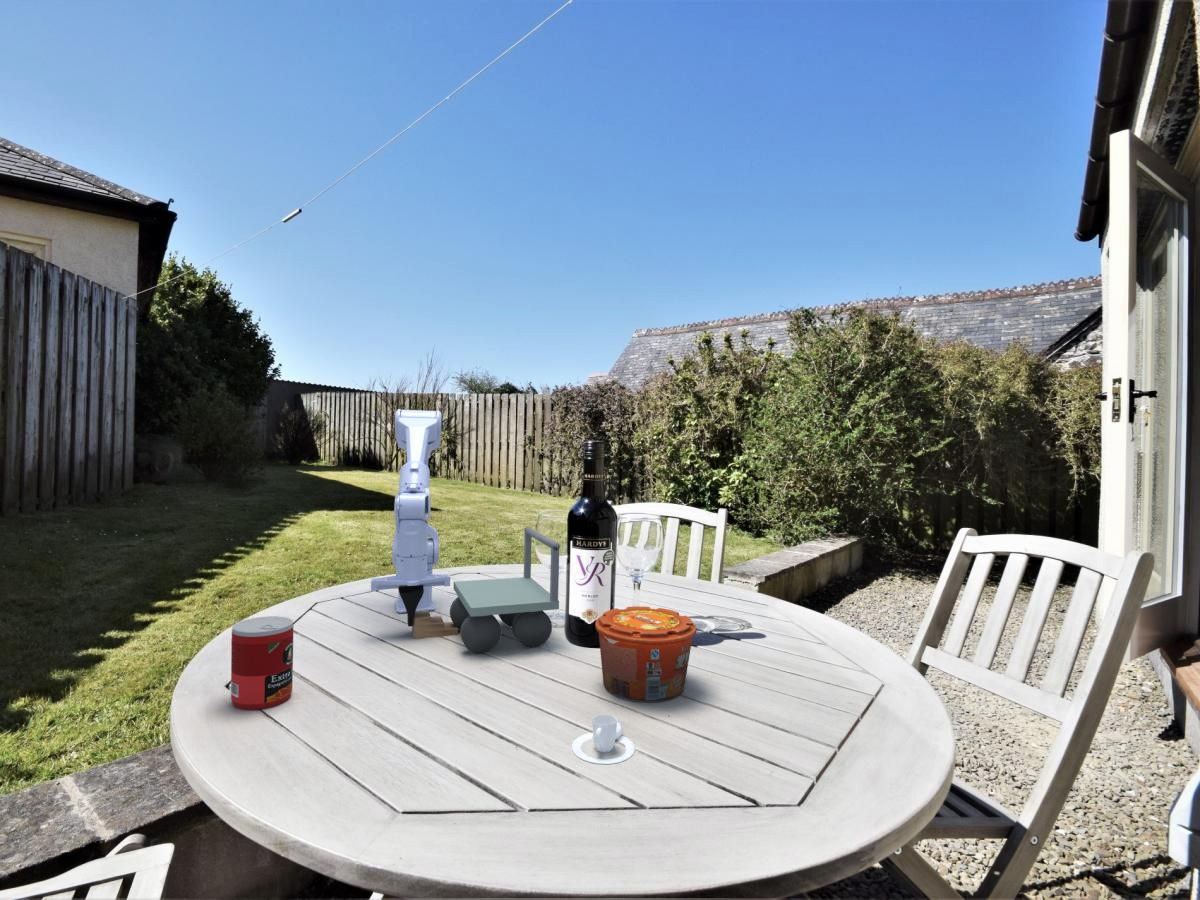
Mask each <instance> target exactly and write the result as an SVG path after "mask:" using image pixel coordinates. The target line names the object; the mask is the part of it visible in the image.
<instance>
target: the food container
mask: <svg viewBox="0 0 1200 900" xmlns="http://www.w3.org/2000/svg"><path fill="white" fill-rule="evenodd" d="M594 625H595V630H596V631H597V633H598V640H599V653H600V663H601V672H602V673H601V674H602V683H603V687H604V688H605V689H606V690H607V691H608V692H610V693H611V694H613V695H614V696H616V697H618V698H621V699H624V700H628V701H632V702H638V703H639V702H640V703H660V702H665V701H670V700H673V699H675V698H677V697H678V696H680V695H682V694H683V692H684V690H685V687H686V686H685V685H686V680H687V674H688V667H689V661H690V660H689V659H690V655H691V651H692V650H691V649H692V644H693V643H692V642H693V636H695V635H697V626H696V624H695V623H694V622H693V621H692V619H691V618H690V617H689V616H687V615H681V614H680V613H679V612H678V611H677V610H673V609H672V610H671V609H667V608H662V607H658V608H651V607H650V606H638V605H637V606H636V605H635V606H627V607H626V608H624V609H620V608H613V609H609V610H607V611H604V612H603V613H602V615H600V616H599V617H598V619H597V620H596V621H595V624H594Z"/></svg>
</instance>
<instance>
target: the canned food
mask: <svg viewBox="0 0 1200 900" xmlns="http://www.w3.org/2000/svg"><path fill="white" fill-rule="evenodd" d="M230 644H231V650H230V651H231V661H230V663H231V664H230V666H231V667H230V669H231V671H230V673H231V675H230V683H231V685H230V699H231V702H232V705H233V706H234V707H236V708H238V709H240V710H250V711H253V710H263V709H268V708H272V707H276V706H278V705H281V704H283V703H284V702H287V700H289V698H290V697H291V694H292V692H293V674H294V668H293V666H294V620H293V619H292V618H289V617H285V616H275V615H274V616H260V617H253V618H248V619H244V620H242V621H238V622H237V623H235V624H233V626H232V629H231V643H230Z"/></svg>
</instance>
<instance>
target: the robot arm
mask: <svg viewBox="0 0 1200 900" xmlns="http://www.w3.org/2000/svg"><path fill="white" fill-rule="evenodd" d="M442 414H443V413H442V412H441V411H440V410H438V409H437V410H419V409H418V410H416V409H415V410H414V409H401V408H398V409H397V410H396V411H395V414H394V435H395V441H396V443H397V447H398V448H400V449H403V450H404V451H406V452H405V453H406V463H405V464H403V465H402V466H401V467H400V470H399V471H400V472H399V481H398V482H399V484H398V494H396V495H395V497H394V507H393V508H394V512H393V515H394V520H395V532H394V534H393V542H392V554H391V555H392V565H393V566H394V567H395V575H391V576H386V577H385V576H383V577H375V578H371V579H370V591H371V592H377V591H378V590H394V589H395V590H397V589H398V593H397V594H398V598H397V599H395V600H394V604H395V608H396V612H397V613H398V614H400V613H402V614H404V613H406V616H407V622H406V623H407V627H412V626H413V618H414V614H415V611H427V610H428V611H429V612H430V611H435V610H436V607H435V604H434V601H433V587H441V586H442V587H443V586H444V587H450V586H451V575H450V574H445V573H444V574H437V573H436V574H433V569H434V566H435V567H436V566H437V565H439V556H440V555H439V552H440V551H439V550H440V539H439V533H438V530H437V529H436V528H434V527H433V526H432V525H430V524H429V523H430V520H431V509H432V508H431V505H432V504H431V503H432V502H431V501H432V500H431V499H432V497H431V493H430V472H431V471H430V470H431V469H430V468H429V458H430V457H431V453H432V451H435V450H436V449H438V448H440V444H441V436H442Z"/></svg>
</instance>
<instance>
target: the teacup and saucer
mask: <svg viewBox="0 0 1200 900" xmlns="http://www.w3.org/2000/svg"><path fill="white" fill-rule="evenodd" d="M591 721H592V724H591V725H592V732H587V733H585V734H582V735H580V736H578V737H576V738H575V740H573V742H572V744H571V751H572V752H573V754H574V755H575V756H576V757H577V758H579V759H580V760H583V761H585V762H588V763H592V764H597V765H614V764H615V765H616V764H618V763H619V764H620V763H622V762H625V761H627V760H629V759H630V758H632V756H633V755H634V753H635V752H636V746H635V744H634V743H633V741H632V740H631V739H630V738H628V737H626V736H624V735H622V733H623V726H622V724H621V723H620V721H618V719H617V717H616V716H615V715H613V714H608V713H599V714H596V715H594V716H593V717H592V720H591ZM591 739H593V744H594V749H596V751H598V752H599V753H609V752H612V751H613V748H614V747H615V743H616V740H617V741H618V742H621V743H622V744H623V745H624V746H625V752H624V753H623V754H622V755H621V756H618V757H615V758H611V759H599V758H595V757H591V756H589V755H587V754H586V753H584V752H583V750H582V745H583V744H584V742H586V741H588V740H591Z"/></svg>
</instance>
